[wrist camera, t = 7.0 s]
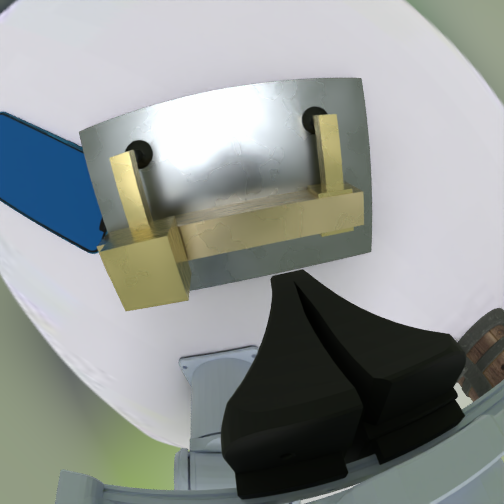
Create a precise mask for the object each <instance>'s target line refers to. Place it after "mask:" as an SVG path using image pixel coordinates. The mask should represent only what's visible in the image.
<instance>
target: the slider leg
mask: <svg viewBox="0 0 504 504" xmlns="http://www.w3.org/2000/svg"><path fill="white" fill-rule="evenodd" d="M142 157H143V153H142V152H141V151H140V150H138V149H136V150H130V151H127V152H124V153H121V154H118V155H115V156H113V157H110V158H109V159H110V163H111V167H112V171H113V174H114V178H115V182H116V185H117V189H118V192H119V196H120V199H121V202H122V205H123V209H124V212H125V215H126V218H127V221H128V224H129V227H128V228H125V229H121V230H117V231H115V232H114V234H113V235H112V236H111V238H110V239H109V240H108V241H107V243H106V244H105V245H104V247H103V248H102V249H101V251H100V255H101V257H102V260H103V262H104V265H105V267H106V269H107V272H108V274H109V276H110V279H111V281H112V283H113V285H114V287H115V290H116V292H117V294H118V296H119V298H120V300H121V302H122V304H123V307H124V309H125V311H130V310H136V309H142V308H148V307H154V306H160V305H166V304H171V303H177V302H182V301H188V300H189V291H190V282H191V274H192V273H191V270H190V266H189V263H188V260H187V257H186V253H185V250H184V247H183V243H182V240H181V236H180V233H179V229H178V226H177V222H176V219H175V216H173V217H169V218H165V219H161V220H156V221H153V220H152V216H151V213H150V209H149V206H148V203H147V199H146V196H145V192H144V188H143V185H142V181H141V177H140V173H139V169H138V166H137V162H138V161H140V160H141V159H142Z"/></svg>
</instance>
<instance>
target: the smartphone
mask: <svg viewBox="0 0 504 504" xmlns="http://www.w3.org/2000/svg"><path fill="white" fill-rule="evenodd" d="M0 201H1V202H3V203H4V204H6V205H8V206H9V207H11V208H12V209H14V210H15V211H17V212H19V213H20V214H22V215H23V216H25V217H27V218H28V219H30V220H32V221H33V222H35V223H37V224H38V225H40V226H42V227H43V228H45V229H47V230H48V231H50V232H52V233H54V234H55V235H57V236H59V237H61V238H62V239H64V240H66V241H68V242H70V243H71V244H73V245H75V246H77V247H79V248H81V249H82V250H84V251H86V252H88V253H91V254H96V253H98V252H99V251H98V249H97V245H98V244H99V243H100V242H101V241H102V239H103V238H104V237H105V236H106V234H107V233H108V232H107V229H106V226H105V223H104V220H103V217H102V214H101V211H100V208H99V205H98V202H97V199H96V195H95V192H94V189H93V185H92V182H91V178H90V175H89V171H88V168H87V164H86V160H85V156H84V152H83V148H82V147H80V146H78V145H76V144H74V143H72V142H70V141H67V140H65V139H63V138H61V137H59V136H56V135H54V134H52V133H50V132H48V131H46V130H43V129H41V128H39V127H37V126H35V125H33V124H31V123H28V122H26V121H24V120H22V119H20V118H17V117H15V116H13V115H11V114H8V113H6V112H0Z"/></svg>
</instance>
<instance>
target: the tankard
mask: <svg viewBox="0 0 504 504" xmlns="http://www.w3.org/2000/svg"><path fill="white" fill-rule="evenodd" d="M458 344H459V346H460V347H461V348H462V349H463V351H464V352H465V354H466V356H467V357H466V364H465V366H464V369H463V371H462V373H461V375H460V377H459V378H458V380H457V382H458V383H459V384H460V386H461V387H462V390H463V392H464V393H465V394H466V396H467V397H470V398H471V400H472V401H473V402H474V401H476V400H477V399H479V398H480V397H481V396H483V395H484V394H486V393H487V392H488V391H490V390H491V389H492V388H494V387H495V386H496V385H498V384H499V383H500V382H501V381H503V380H504V310H503V309H501V308H497V309H494V310H492V311H490V312H488V313H487V314H486V315H484V316H483V317H482V318H480V319H479V320H478V321H477V322H476V323H475V324H474V325H473V326H472V327H471V328H470V329H469V330H468V331H467V332H466V333H465V334H464V336H463V337H462V338H461V339H460V340H459V341H458ZM457 382H456V383H457Z"/></svg>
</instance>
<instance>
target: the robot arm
mask: <svg viewBox="0 0 504 504" xmlns="http://www.w3.org/2000/svg"><path fill="white" fill-rule="evenodd" d="M270 280H271V286H272V302H271V310H270V315H269V319H268V324H267V327H266V331H265V334H264V337H263V340H262V343H261V345H260V347H259V350H258V349H257V348H256V347H248V348H243V349H238V350H233V351H227V352H221V353H215V354H209V355H203V356H196V357H190V358H182V359H180V360H179V366H180V368H181V369H182V371H183V373H184V375H185V377H186V379H187V381H188V382H189V384H190V386H191V438H190V452H188V449H186V448H181V449H180V451H179V452H177V453H176V454H175V462H174V490H154V489H153V490H152V489H140V488H130V487H121V486H114V485H107V484H103V483H102V482H101V481H99V480H98V479H96V478H94V477H92V476H89V475H86V474H82V473H77V472H72V471H68V470H64V469H63V470H61V472H60V477H59V482H58V488H57V494H56V501H55V504H300V502H301V500H303V499H308V498H312V497H316V496H319V495H323V494H327V493H331V492H334V491H337V490H340V489H343V488H347V487H350V486H353V485H356V484H358V485H356V486H354V487H352V488H351V489H348V490H345V491H342V492H340V493H337V494H334V495H331V496H328V497H325V498H322V499H319V500H316V501H312V502H309V503H306V504H504V463H503V461H502V459H501V457H502V456H503V455H504V380H503V381H501V382H500V383H499V384H498V385H496V386H495V387H494V388H492V389H491V390H490V391H488V392H487V393H486V394H484V395H483V396H481V397H480V398H479V399H477V400H476V401H474V402H473V403H472V404H470V405H468V406H467V407H465V408H464V409H461V408H460V406H459V405H458V403H457V402H456V400H455V399H456V398H457V397H458V395H457V392H456V391H455V389H454V388H453V387H454V385H455V384H456V382H457V380H458V378H459V377H460V375H461V373H462V371H463V369H464V366H465V364H466V357H467V356H466V354H465V352H464V351H463V349H462V348H461V347H460V346H459V344H458V343H457V342H456V341H455V340H454V338H453V337H452V336H451V335H450V334H446V333H440V332H433V331H427V330H422V329H418V328H414V327H410V326H406V325H403V324H399V323H396V322H393V321H390V320H388V319H385V318H382V317H380V316H377V315H375V314H372V313H370V312H368V311H366V310H364V309H362V308H360V307H358V306H356V305H354V304H352V303H350V302H349V301H347V300H345V299H344V298H342V297H340V296H339V295H337V294H336V293H334V292H333V291H331V290H330V289H328V288H327V287H326V286H324V285H323V284H321V283H320V282H319V281H317V280H316V279H315V278H313V277H312V276H311V275H310V274H308V273H307V272H306V271H304V270H298V271H294V272H289V273H284V274H280V275H275V276H272V278H271V279H270ZM253 354H255V355H253ZM361 482H362V483H361ZM359 483H360V484H359Z"/></svg>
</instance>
